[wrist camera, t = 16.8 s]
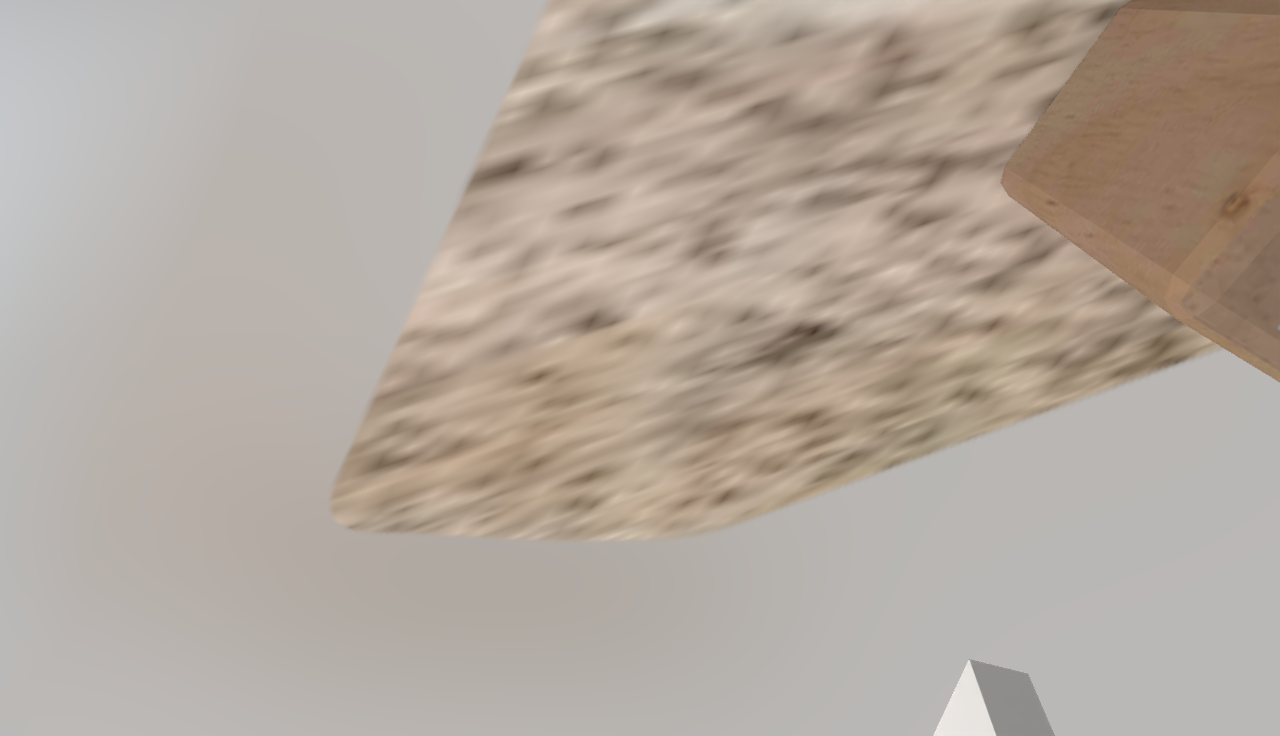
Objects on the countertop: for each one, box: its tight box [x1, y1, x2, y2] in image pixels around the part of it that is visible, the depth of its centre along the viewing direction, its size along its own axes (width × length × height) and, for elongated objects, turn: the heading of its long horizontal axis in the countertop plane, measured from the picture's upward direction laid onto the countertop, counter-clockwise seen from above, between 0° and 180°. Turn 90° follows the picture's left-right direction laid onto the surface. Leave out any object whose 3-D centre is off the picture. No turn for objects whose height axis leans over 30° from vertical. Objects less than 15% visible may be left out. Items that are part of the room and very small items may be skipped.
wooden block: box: [1001, 0, 1280, 382], centre depth 34 cm, size 10×10×20 cm
